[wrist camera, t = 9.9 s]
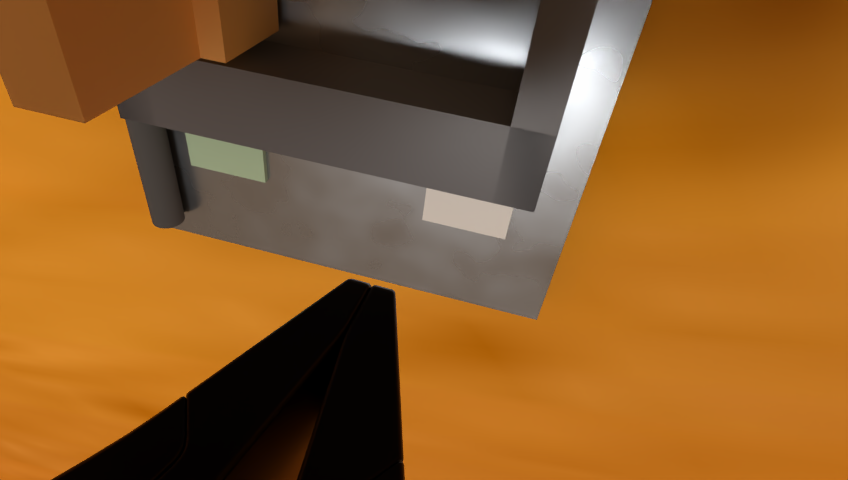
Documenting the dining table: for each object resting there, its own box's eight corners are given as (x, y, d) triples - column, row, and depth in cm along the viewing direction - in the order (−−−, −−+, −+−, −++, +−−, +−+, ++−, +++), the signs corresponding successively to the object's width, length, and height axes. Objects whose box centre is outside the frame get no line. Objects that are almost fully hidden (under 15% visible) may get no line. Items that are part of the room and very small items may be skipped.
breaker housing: (649, -207, 11) (663, -217, 9) (519, 239, 18) (512, 284, 17) (93, -280, 12) (7, -302, 11) (182, 159, 20) (140, 192, 18)
